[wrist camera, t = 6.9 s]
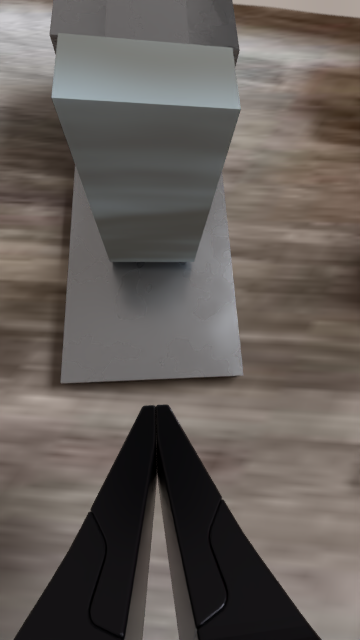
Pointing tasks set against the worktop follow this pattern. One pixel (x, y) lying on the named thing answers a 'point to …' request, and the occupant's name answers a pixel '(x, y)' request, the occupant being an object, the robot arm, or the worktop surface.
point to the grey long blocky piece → (149, 277)
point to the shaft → (146, 137)
